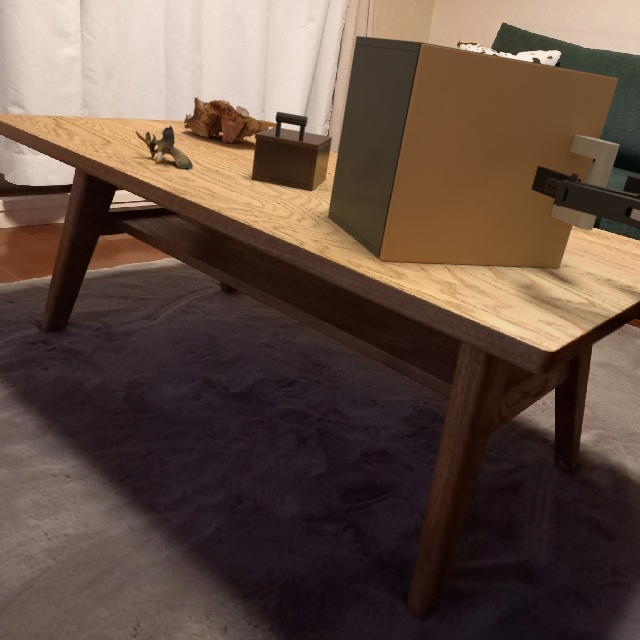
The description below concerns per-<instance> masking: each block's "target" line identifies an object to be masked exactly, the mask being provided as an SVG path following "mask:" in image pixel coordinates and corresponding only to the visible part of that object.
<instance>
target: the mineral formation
mask: <svg viewBox="0 0 640 640" xmlns="http://www.w3.org/2000/svg"><path fill="white" fill-rule="evenodd" d="M193 102H194V108H193V115H192V114H191V113H189V114H187V113H186V114H185V118H184V120H183V126H184V128H185V129H190V131H191V133H196V134H197V135H198V136H199V137H205V138H206V137H208V138H210V137H211V136H214V135H215V137H216V138H219V137H220V133H221V134H222V135H221V137H222V139H221V140H222V141H223V143H225V142H226V143H229V144H232V143H233V142H234V141H235V140H236V139H237V140H243V139H245V138H247V137H248V138H250V137H253V136H255V134H256V133H259V132H262V131H265V130H268V129H271V128H274V127H276V124H277V122H272V121H266V120H262V119H256V118H254V117H252V116H250V112H249V111H248V110H247V108H245V107H242V106H240V105H237V106H235V107H234V106H233V105H232V104H231V103H230V101H228V100H227V101H226V100H224V99H218V100H216V99H214V100H211V101H208V102H206V101H202V100H201V99H200V98H199V97H194V100H193Z"/></svg>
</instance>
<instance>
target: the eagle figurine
mask: <svg viewBox="0 0 640 640" xmlns="http://www.w3.org/2000/svg"><path fill="white" fill-rule="evenodd" d="M150 133H151V132H150V131H147V132H146V133H145V136H144V137H143V136H142V134H140V133H139V131H137V130H135V134H136V136H137V138H138V139H140V140H141V141H142V142H143V143H144V144H145V145H146V146H147V149H148V150H149V152H150V155H151V158H152V159H154V158H155V156H156V160H155V164H156V163H157V164H158V163H159V162H162V160H163V158H164V156H165V155H170V156H171V158H172V159H173V160H174V161H175V164H176V166H177V168H181V169H185V168H190V169H192V168H193V167H194V164H193V162H192V160H191V159H190V157H188V155H186V154H185V152H183V151H182V150H181V149H179V148H177V147H175V143H176V142H175V139H176V137H175V131H174V128H173V126H172V125H169V126H168V127H165V128H164V129H163V128H161V134H162V138H160V139H157V137H156V135H155V134H154V133H153V134H152V136H151V134H150ZM156 147H157V148H156Z"/></svg>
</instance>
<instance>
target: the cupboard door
mask: <svg viewBox="0 0 640 640" xmlns="http://www.w3.org/2000/svg"><path fill="white" fill-rule="evenodd" d="M439 46H440V45H439ZM439 46H433V45H427V44H421V48H420V53H419V58H418V64H417V69H416V74H415V79H414V84H413V89H412V94H411V99H410V104H409V110H408V115H407V120H406V125H405V130H404V135H403V140H402V145H401V150H400V156H399V161H398V166H397V171H396V176H395V181H394V186H393V191H392V196H391V202H390V207H389V212H388V217H387V222H386V227H385V232H384V237H383V242H382V247H381V253H380V258H379V260H381V261H382V262H391V263H392V262H393V263H394V262H395V263H417V264H418V263H419V264H443V265H445V264H446V265H466V266H467V265H470V266H492V267H494V266H495V267H496V266H497V267H520V268H545V269H547V268H548V269H560V268H561V265H562V261H563V258H564V255H565V252H566V248H567V245H568V242H569V239H570V235H571V232H572V230H573V227H575V228H577V229H580V230H584V231H592V230H593V228H594V226H595V222H596V219H597V216H594V215H590V214H587V213H583V212H580V211H576V210H573V209H569V208H565V207H562V206H561V207H559V206H556V205H554V204H553V203H554V198H552V197H549V196H546V195H544V194H541V193H539V192H536V191H534V190H531V189H532V185H533V181H534V178H535V174H536V171H537V167H538V166H541V167H546V168H549V169H552V170H554V171H557V172H560V173H563V174H566V175H569V176H571V175H572V173H577V174H579V175H578V179H581V182H583V183H588V184H592V185H597V186H601V187H606V188H607V186H608V182H609V180H610V176H611V174H612V170H613V167H614V164H615V161H616V158H617V155H618V151H619V148H620V146H621V145H620V144H619V143H617V142H612V141H609V140H604V139H601V136H602V133H603V130H604V126H605V124H606V120H607V117H608V114H609V111H610V108H611V104H612V101H613V98H614V94H615V92H616V88H617V85H618V82H619V78H618V77H612V76H611V77H606V76H601V75H602V74H601V75H595V74H596V73H595V74H590V73H591V72H590V73H584V72H585V71H584V72H578V71H573V70H574V69H573V70H567V69H562V68H563V67H562V68H556V67H557V66H556V67H550V66H545V65H546V64H545V65H539V64H534V63H535V62H534V63H528V62H522V61H517V60H518V59H517V60H511V59H506V58H507V57H506V58H500V57H495V56H496V55H495V56H489V55H483V54H478V53H479V52H478V53H472V52H467V51H468V50H467V51H461V50H455V49H450V48H444V47H439ZM593 162H594V163H593ZM592 165H593V166H592ZM591 168H592V170H591ZM590 171H591V173H590ZM589 175H590V176H589ZM588 178H589V179H588ZM587 181H588V182H587Z"/></svg>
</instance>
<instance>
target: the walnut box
mask: <svg viewBox="0 0 640 640" xmlns="http://www.w3.org/2000/svg"><path fill="white" fill-rule="evenodd" d="M331 146H332V141H331V142H330V143H328V144H326V145H325V146H323V147H321V148H319V149H318V150H315V149H309V148H304V147H299V146H293V145H288V144H282V143H277V142H271V141H266V140H260V139H255V144H254V152H253V154H254V155H253V163H252V171H251V180H253V181H257V182H258V181H259V182H263V183H268V184H274V185H280V186H284V187H289V188H295V189H299V190H305V191H310V192H313V191H314V190H315V189H316V188H318V186H319V185H321V184H322V183H323V182H324V181H325V180H326V179H327V172H328V167H329V160H330V154H331V148H332V147H331Z"/></svg>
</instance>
